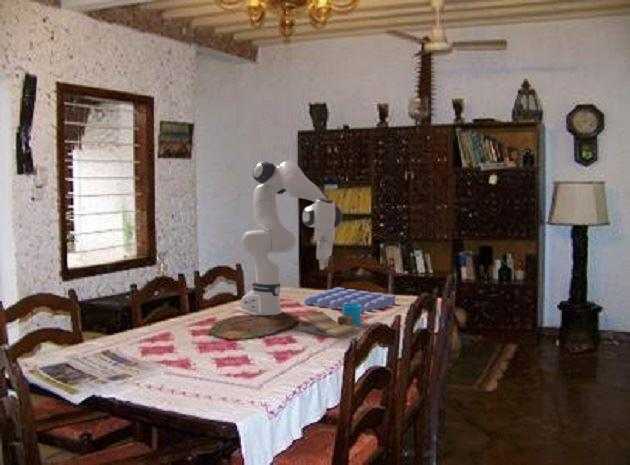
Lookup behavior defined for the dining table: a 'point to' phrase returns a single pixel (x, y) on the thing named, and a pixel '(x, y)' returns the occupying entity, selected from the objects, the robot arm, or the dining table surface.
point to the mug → (353, 312)
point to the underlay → (330, 333)
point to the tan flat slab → (322, 321)
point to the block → (345, 320)
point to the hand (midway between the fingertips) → (323, 268)
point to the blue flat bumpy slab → (350, 299)
